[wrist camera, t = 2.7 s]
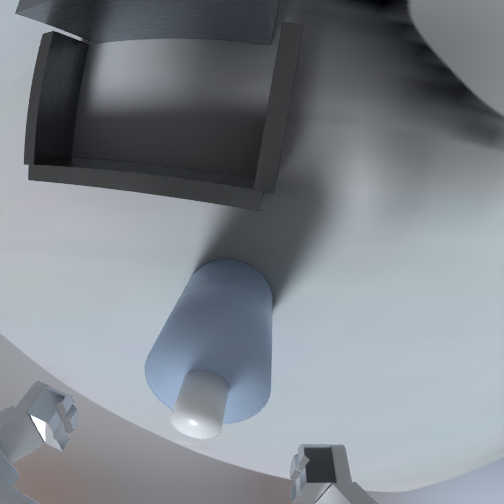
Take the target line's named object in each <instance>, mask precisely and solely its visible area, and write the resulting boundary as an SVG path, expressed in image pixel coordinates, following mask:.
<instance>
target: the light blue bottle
mask: <svg viewBox="0 0 504 504" xmlns="http://www.w3.org/2000/svg"><path fill="white" fill-rule="evenodd" d="M272 303H273V300H272V292H271V288H270V286H269V284H268V282H267V280H266V279H265V278H264V276H263V275H262V274H261V273H260V272H259V271H258V270H256V269H255V268H254V267H252V266H250V265H248V264H246V263H244V262H241V261H237V260H231V259H222V260H215V261H212V262H209V263H207V264H205V265H203V266H201V267H200V268H199V269H198V270H197V271H196V272H195V273H194V274H193V275H192V277H191V278H190V280H189V282H188V284H187V285H186V287H185V289H184V291H183V293H182V294H181V296H180V298H179V300H178V302H177V303H176V305H175V307H174V309H173V311H172V312H171V314H170V316H169V318H168V320H167V321H166V323H165V325H164V327H163V329H162V331H161V332H160V334H159V336H158V338H157V340H156V342H155V344H154V345H153V347H152V349H151V351H150V353H149V355H148V357H147V359H146V363H145V376H146V380H147V383H148V385H149V387H150V389H151V390H152V392H153V393H154V395H155V396H156V397H157V398H158V399H159V400H160V401H161V402H162V403H163V404H164V405H166V406H167V407H168V408H170V409H171V410H173V411H172V414H171V417H170V421H171V423H172V425H173V426H174V427H175V428H176V429H177V430H178V431H179V432H181V433H183V434H185V435H187V436H190V437H193V438H198V439H209V438H213V437H216V436H218V435H219V434H220V433H221V430H222V425H223V424H229V423H235V422H240V421H243V420H246V419H248V418H250V417H252V416H254V415H255V414H257V413H258V412H259V411H261V409H262V408H263V407H264V406H265V405H266V403H267V402H268V399H269V397H270V392H271V360H272Z"/></svg>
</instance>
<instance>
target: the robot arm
mask: <svg viewBox="0 0 504 504" xmlns="http://www.w3.org/2000/svg"><path fill="white" fill-rule="evenodd" d="M73 402H74V400H73V397H72V395H70V394H67V393H65V392H62V391H60V390H57V389H55V388H53V387H51V386H49V385H47V384H44V383H42V382H40V381H37V382H36V383H34V384H33V386H32V387H31V388H30V389H29V391H28V392H27V393H26V395H25V396H24V397H23V399H22V400H21V401H20V403H19V404H18V405H17V406H16V407H14V406H12V407H9V408H7V409H4V410H2V411H0V504H40V503H38V502H36V501H34V500H33V499H31V498H29V497H28V496H26V495H24V494H23V493H21V492H19V491H18V490H16V489H15V488H13V487H14V484H15V482H16V481H17V479H18V477H19V473H18V471H17V470H16V469H15V467H14V466H13V465H12V463H13V462H15V461H16V460H19V459H20V458H22V457H24V456H25V455H27V454H29V453H31V452H32V451H34V450H36V449H37V448H39V447H40V446H42V445H44V443H46V444H48V445H50V446H52V447H54V448H57V449H59V450H61V451H63V450H64V448H65V446H66V444H67V442H68V440H69V435H68V433H70V432H72V431H74V429H75V427H76V426H77V422H78V411H77V409H76V408H75V406H74V405H73ZM290 478H291V479H292V480H293V481H294V484H293V485H292V487H291V502H292V503H315V504H377V502H376V501H374V500H373V498H371V497H370V496H369V495H368V494H367V493H366V492H365V491H364V490H363V489H362V488H361V487H360V486H359V485H358V484H357V483H356V482H352V480H351V474H350V469H349V464H348V459H347V454H346V449H345V447H344V445H329V444H301V445H300V446H299V448H298V454H296V455H294V457H293V460H292V463H291V469H290Z"/></svg>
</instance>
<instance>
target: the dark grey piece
mask: <svg viewBox="0 0 504 504" xmlns="http://www.w3.org/2000/svg"><path fill="white" fill-rule="evenodd" d="M278 3H279V0H20V1H19V4H18V7H17V10H16V13H15V14H18V15H21V16H25V17H28V18H31V19H34V20H37V21H39V22H42V23H45V24H48V25H51V26H53V27H56V28H59V29H61V30H64V31H66V32H69V33H71V34H74V35H76V36H79V37H81V38H84V39H86V40H88V41H91V42H93V43H103V42H112V41H123V40H136V39H160V38H191V39H214V40H228V41H239V42H249V43H257V44H265V45H271V41H272V35H273V30H274V25H275V19H276V14H277V9H278ZM302 30H303V26H302V25H297V24H291V23H285V22H283V23H282V29H281V34H280V40H279V45H278V51H277V56H276V62H275V68H274V73H273V79H272V85H271V90H270V96H269V102H268V108H267V113H266V119H265V125H264V131H263V137H262V142H261V148H260V154H259V160H258V166H257V172H256V178H249V177H243V176H237V175H231V174H224V173H217V172H210V171H203V170H196V169H188V168H181V167H172V166H164V165H155V164H146V163H136V162H125V161H114V160H101V159H87V158H72V146H73V135H74V125H75V117H76V109H77V102H78V95H79V89H80V83H81V78H82V72H83V67H84V62H85V58H86V53H87V49H88V44H86V43H84V42H81V41H79V40H76V39H74V38H71V37H69V36H66V35H63V34H61V33H58V32H55V31H52V32H48V33H44V34H43V36H42V39H41V43H40V47H39V51H38V56H37V60H36V65H35V70H34V75H33V80H32V86H31V92H30V99H29V106H28V114H27V124H26V135H25V150H24V164H27V165H29V174H28V180H34V181H44V182H55V183H64V184H74V185H83V186H92V187H100V188H108V189H116V190H124V191H132V192H140V193H147V194H154V195H161V196H168V197H175V198H182V199H189V200H195V201H202V202H208V203H214V204H221V205H227V206H233V207H239V208H245V209H250V210H256V211H260V210H261V204H262V199H263V193H264V192H270V193H274V190H275V185H276V179H277V174H278V168H279V163H280V157H281V152H282V146H283V140H284V135H285V129H286V123H287V118H288V112H289V106H290V100H291V95H292V89H293V83H294V77H295V71H296V65H297V60H298V54H299V48H300V42H301V36H302Z"/></svg>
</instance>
